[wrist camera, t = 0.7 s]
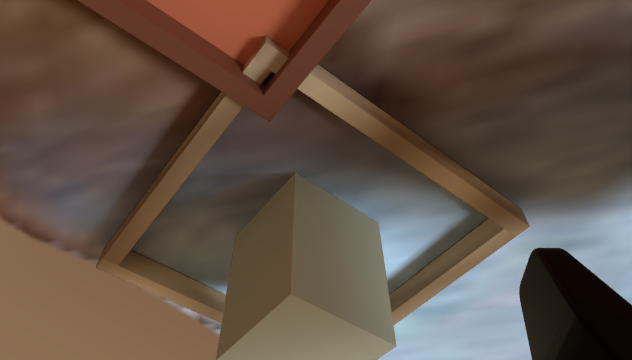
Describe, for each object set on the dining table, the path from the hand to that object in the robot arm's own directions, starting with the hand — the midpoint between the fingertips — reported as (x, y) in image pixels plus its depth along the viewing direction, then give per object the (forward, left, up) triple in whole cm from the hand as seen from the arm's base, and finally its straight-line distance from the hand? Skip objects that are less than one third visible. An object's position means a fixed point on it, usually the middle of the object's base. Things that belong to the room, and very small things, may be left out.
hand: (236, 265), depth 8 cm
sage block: (-8, +9, -14) cm, 18 cm away
